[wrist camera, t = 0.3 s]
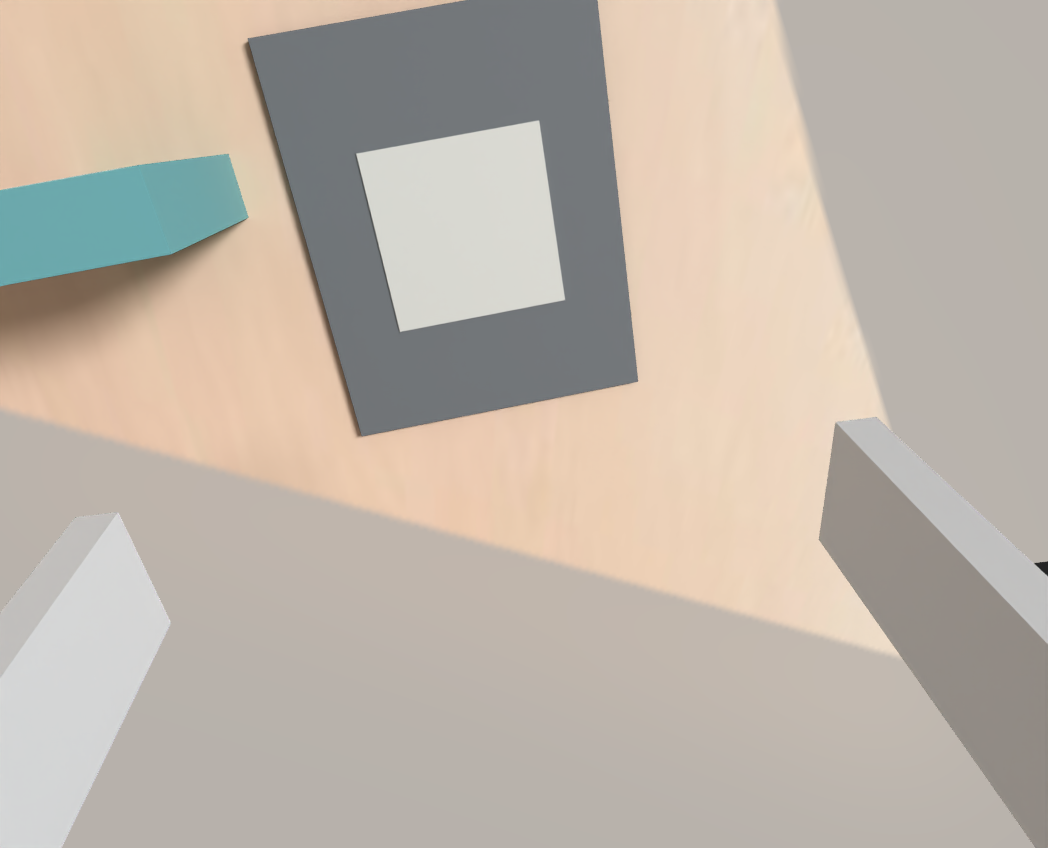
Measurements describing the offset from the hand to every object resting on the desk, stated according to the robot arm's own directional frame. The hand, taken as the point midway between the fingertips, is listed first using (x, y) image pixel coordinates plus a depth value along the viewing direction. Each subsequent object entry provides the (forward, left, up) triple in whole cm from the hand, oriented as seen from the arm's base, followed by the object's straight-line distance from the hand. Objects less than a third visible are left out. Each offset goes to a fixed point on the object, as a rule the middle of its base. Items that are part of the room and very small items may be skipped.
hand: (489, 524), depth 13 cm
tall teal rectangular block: (-6, -13, -26) cm, 30 cm away
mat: (-2, +1, -26) cm, 26 cm away
